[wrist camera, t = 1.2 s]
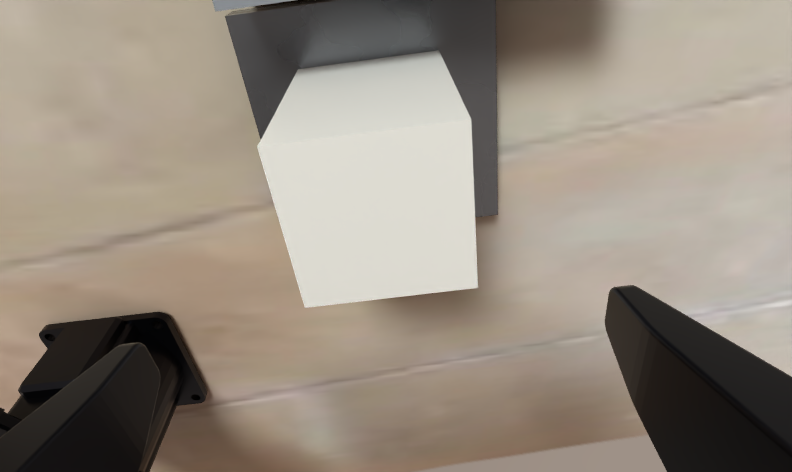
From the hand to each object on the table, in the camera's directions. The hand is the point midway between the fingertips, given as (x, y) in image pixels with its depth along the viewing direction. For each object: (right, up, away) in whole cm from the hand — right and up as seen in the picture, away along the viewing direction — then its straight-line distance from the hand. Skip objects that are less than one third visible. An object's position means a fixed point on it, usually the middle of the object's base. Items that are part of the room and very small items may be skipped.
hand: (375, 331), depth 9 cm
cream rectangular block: (0, +6, +9) cm, 11 cm away
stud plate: (0, +7, +10) cm, 12 cm away
